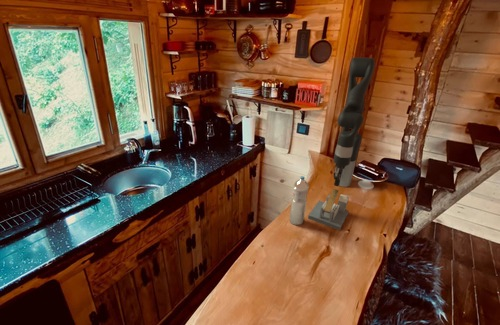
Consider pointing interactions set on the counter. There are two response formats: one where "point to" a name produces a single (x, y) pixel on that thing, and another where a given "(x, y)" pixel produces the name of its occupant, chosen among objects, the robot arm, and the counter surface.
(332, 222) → the clip base
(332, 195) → the tan flat bar
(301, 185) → the water bottle
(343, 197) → the latch
